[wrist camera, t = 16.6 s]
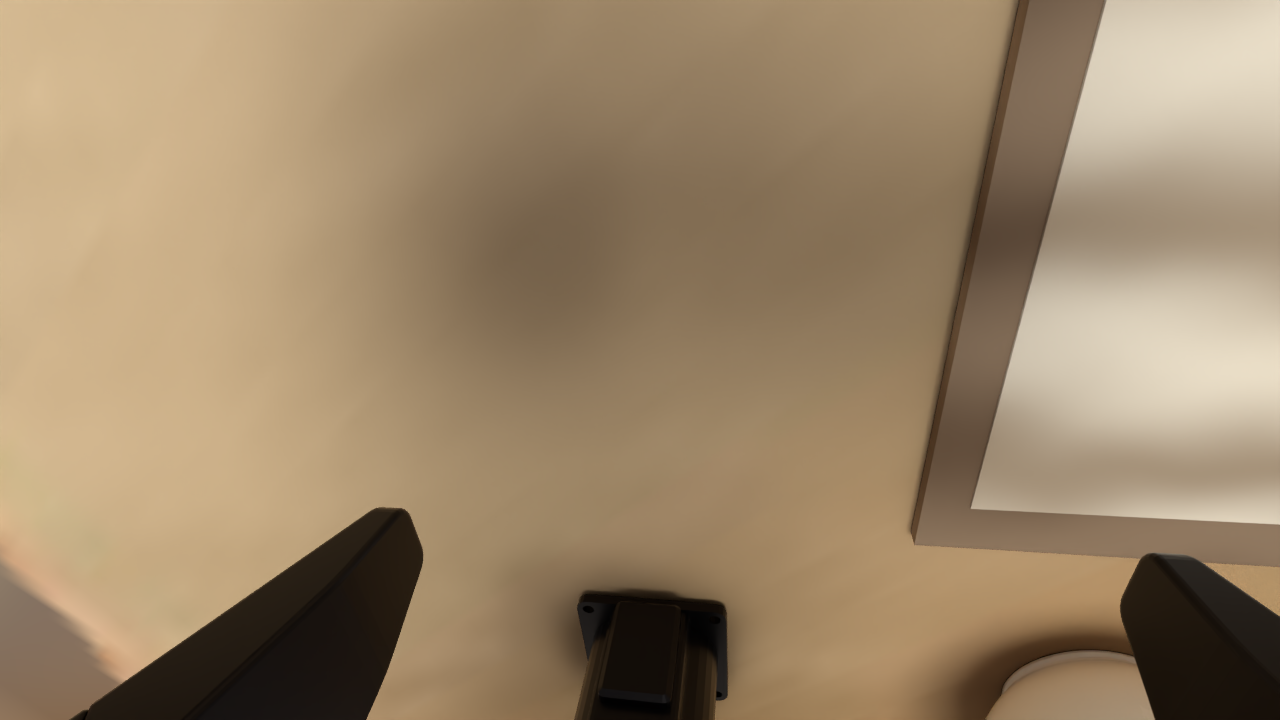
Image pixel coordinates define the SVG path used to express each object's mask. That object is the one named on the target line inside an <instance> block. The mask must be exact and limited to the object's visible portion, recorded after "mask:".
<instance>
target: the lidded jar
mask: <svg viewBox="0 0 1280 720" xmlns="http://www.w3.org/2000/svg"><path fill="white" fill-rule="evenodd" d="M985 720H1155V719H1154V716H1153V713H1152V710H1151V707H1150V704H1149V701H1148V697H1147V694H1146V691H1145V688H1144V685H1143V682H1142V679H1141V676H1140V673H1139V670H1138V667H1137V664H1136V661H1135V658H1134V656H1130V655H1127V654H1123V653H1118V652H1111V651H1102V650H1078V651H1068V652H1062V653H1057V654H1052V655H1049V656H1046V657H1042V658H1039V659H1037V660H1035V661H1032V662H1030V663H1028V664H1026V665H1024V666H1022V667H1021V668H1019V669H1018V670H1017V671H1015V672H1014V673H1013V674H1012V675H1011V676H1010V677H1009V678H1008V679H1007V681H1006V682H1005V684H1004V686H1003V689H1002V695H1001V696H1000V697H999V699H998V700H997V701H996V702H995V704H994V706H993V707H992V709H991V710H990V712H989V714H988V715H987V717H986V719H985Z"/></svg>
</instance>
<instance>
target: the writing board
mask: <svg viewBox="0 0 1280 720" xmlns="http://www.w3.org/2000/svg"><path fill="white" fill-rule="evenodd" d="M911 534H912V538H913V542H914V545H925V546H941V547H958V548H974V549H991V550H1007V551H1024V552H1040V553H1057V554H1073V555H1090V556H1106V557H1123V558H1139V559H1141V558H1142V557H1143V556H1144V555H1146V554H1148V553H1153V552H1154V553H1171V554H1184V555H1188V556H1191V557H1194V558H1196V559H1197V560H1199V561H1201V562H1205V563H1221V564H1238V565H1254V566H1271V567H1280V0H1020V1H1019V6H1018V11H1017V16H1016V21H1015V26H1014V31H1013V36H1012V40H1011V45H1010V50H1009V55H1008V60H1007V65H1006V70H1005V75H1004V80H1003V84H1002V89H1001V94H1000V99H999V104H998V109H997V114H996V119H995V124H994V129H993V133H992V138H991V143H990V148H989V153H988V158H987V163H986V168H985V173H984V177H983V182H982V187H981V192H980V197H979V202H978V207H977V212H976V217H975V221H974V226H973V231H972V236H971V241H970V246H969V251H968V256H967V261H966V266H965V270H964V275H963V280H962V285H961V290H960V295H959V300H958V305H957V310H956V314H955V319H954V324H953V329H952V334H951V339H950V344H949V349H948V354H947V359H946V363H945V368H944V373H943V378H942V383H941V388H940V393H939V398H938V403H937V407H936V412H935V417H934V422H933V427H932V432H931V437H930V442H929V447H928V452H927V456H926V461H925V466H924V471H923V476H922V481H921V486H920V491H919V496H918V500H917V505H916V510H915V515H914V520H913V525H912V530H911Z"/></svg>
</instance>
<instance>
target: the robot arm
mask: <svg viewBox="0 0 1280 720" xmlns="http://www.w3.org/2000/svg"><path fill="white" fill-rule="evenodd" d="M422 564H423V549H422V546H421V543H420V540H419V538H418V535H417V532H416V530H415V527H414V524H413V522H412V519H411V517H410V515H409V513H408V512H407V511H406V510H405V509H402V508H386V507H379V508H375V509H373V510H371V511H370V512H368V513H367V514H365V515H364V516H363V517H361V518H360V519H358V520H357V521H355V522H354V523H352V524H351V525H350V526H348V527H347V528H345V529H344V530H342V531H341V532H339V533H338V534H337V535H335V536H334V537H332V538H331V539H329V540H328V541H326V542H325V543H324V544H322V545H321V546H319V547H318V548H316V549H315V550H314V551H312V552H311V553H309V554H308V555H306V556H305V557H303V558H302V559H301V560H299V561H298V562H296V563H295V564H293V565H292V566H290V567H289V568H288V569H286V570H285V571H283V572H282V573H280V574H279V575H277V576H276V577H275V578H273V579H272V580H270V581H269V582H267V583H266V584H265V585H263V586H262V587H260V588H259V589H257V590H256V591H254V592H253V593H252V594H250V595H249V596H247V597H246V598H244V599H243V600H241V601H240V602H239V603H237V604H236V605H234V606H233V607H231V608H230V609H228V610H227V611H226V612H224V613H223V614H221V615H220V616H218V617H217V618H215V619H214V620H213V621H211V622H210V623H208V624H207V625H205V626H204V627H203V628H201V629H200V630H198V631H197V632H195V633H194V634H192V635H191V636H190V637H188V638H187V639H185V640H184V641H182V642H181V643H179V644H178V645H177V646H175V647H174V648H172V649H171V650H169V651H168V652H166V653H165V654H164V655H162V656H161V657H159V658H158V659H156V660H155V661H153V662H152V663H151V664H149V665H148V666H146V667H145V668H143V669H142V670H140V671H139V672H138V673H136V674H135V675H133V676H132V677H130V678H129V679H128V680H126V681H125V682H123V683H122V684H120V685H119V686H117V687H116V688H115V689H113V690H112V691H110V692H109V693H107V694H106V695H104V696H103V697H102V698H100V699H99V700H97V701H96V702H94V703H93V704H92V705H91V706H90V708H89V710H83V711H81V712H80V713H78V714H77V715H75V716H74V717H72V718H71V719H70V720H366V719H367V717H368V714H369V712H370V710H371V708H372V705H373V703H374V701H375V699H376V696H377V694H378V692H379V689H380V687H381V685H382V682H383V680H384V677H385V675H386V672H387V670H388V667H389V664H390V661H391V659H392V656H393V653H394V650H395V647H396V644H397V641H398V638H399V635H400V632H401V629H402V626H403V623H404V620H405V617H406V614H407V610H408V607H409V604H410V601H411V598H412V595H413V592H414V589H415V586H416V583H417V580H418V577H419V574H420V571H421V568H422ZM577 609H578V614H579V619H580V624H581V629H582V634H583V639H584V643H585V648H586V653H587V658H588V665H587V669H586V673H585V677H584V681H583V686H582V690H581V694H580V698H579V702H578V707H577V711H576V715H575V719H574V720H715V703H716V700H724V699H726V698H727V695H728V663H727V612H726V610H725V608H724V607H722V606H720V605H715V604H704V603H692V602H679V601H667V600H654V599H642V598H629V597H617V596H604V595H592V594H585V595H582V596H581V597H580V599H579V602H578V607H577ZM1120 612H1121V618H1122V622H1123V625H1124V628H1125V631H1126V634H1127V637H1128V640H1129V643H1130V646H1131V649H1132V652H1133V655H1134V658H1135V661H1136V664H1137V667H1138V670H1139V673H1140V676H1141V679H1142V682H1143V685H1144V688H1145V691H1146V694H1147V697H1148V701H1149V704H1150V707H1151V710H1152V713H1153V716H1154V719H1155V720H1280V616H1278V615H1277V614H1275V613H1274V612H1272V611H1271V610H1270V609H1268V608H1267V607H1265V606H1264V605H1262V604H1261V603H1260V602H1258V601H1257V600H1255V599H1254V598H1252V597H1251V596H1249V595H1248V594H1247V593H1245V592H1244V591H1242V590H1241V589H1239V588H1238V587H1237V586H1235V585H1234V584H1232V583H1231V582H1229V581H1228V580H1226V579H1225V578H1224V577H1222V576H1221V575H1219V574H1218V573H1216V572H1215V571H1214V570H1212V569H1211V568H1209V567H1208V566H1206V565H1205V564H1203V563H1202V562H1201V561H1199V560H1197V559H1196V558H1194V557H1191V556H1188V555H1184V554H1171V553H1154V552H1153V553H1148V554H1146V555H1144V556H1143V557H1142V558H1141V559H1140V561H1139V563H1138V565H1137V567H1136V569H1135V571H1134V573H1133V575H1132V577H1131V579H1130V581H1129V583H1128V585H1127V587H1126V589H1125V592H1124V594H1123V596H1122V599H1121V604H1120Z"/></svg>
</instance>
